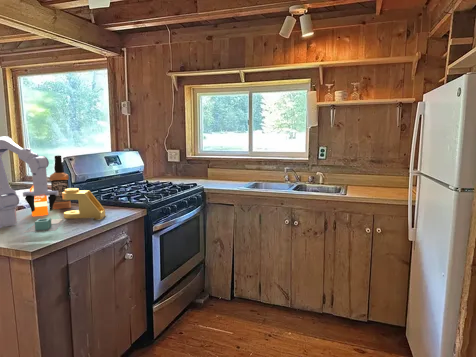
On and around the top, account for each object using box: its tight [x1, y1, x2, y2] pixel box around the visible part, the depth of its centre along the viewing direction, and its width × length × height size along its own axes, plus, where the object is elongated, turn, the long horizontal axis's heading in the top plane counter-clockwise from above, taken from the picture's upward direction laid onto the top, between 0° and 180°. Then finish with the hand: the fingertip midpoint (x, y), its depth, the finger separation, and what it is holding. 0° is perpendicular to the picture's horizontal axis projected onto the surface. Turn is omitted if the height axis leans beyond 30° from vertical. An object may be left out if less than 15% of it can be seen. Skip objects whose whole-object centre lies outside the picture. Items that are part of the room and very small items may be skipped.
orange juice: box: [29, 185, 49, 217], centre depth 186 cm, size 8×9×20 cm
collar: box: [34, 217, 52, 230], centre depth 160 cm, size 5×5×4 cm
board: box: [23, 218, 68, 234], centre depth 165 cm, size 13×21×1 cm, turn 13°
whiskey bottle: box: [49, 154, 72, 210], centre depth 206 cm, size 10×10×32 cm
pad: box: [51, 218, 64, 224], centre depth 171 cm, size 9×9×1 cm
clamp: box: [62, 187, 106, 221], centre depth 183 cm, size 20×9×16 cm, turn 97°
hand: (42, 210), depth 159 cm, fingers open, 7 cm apart
